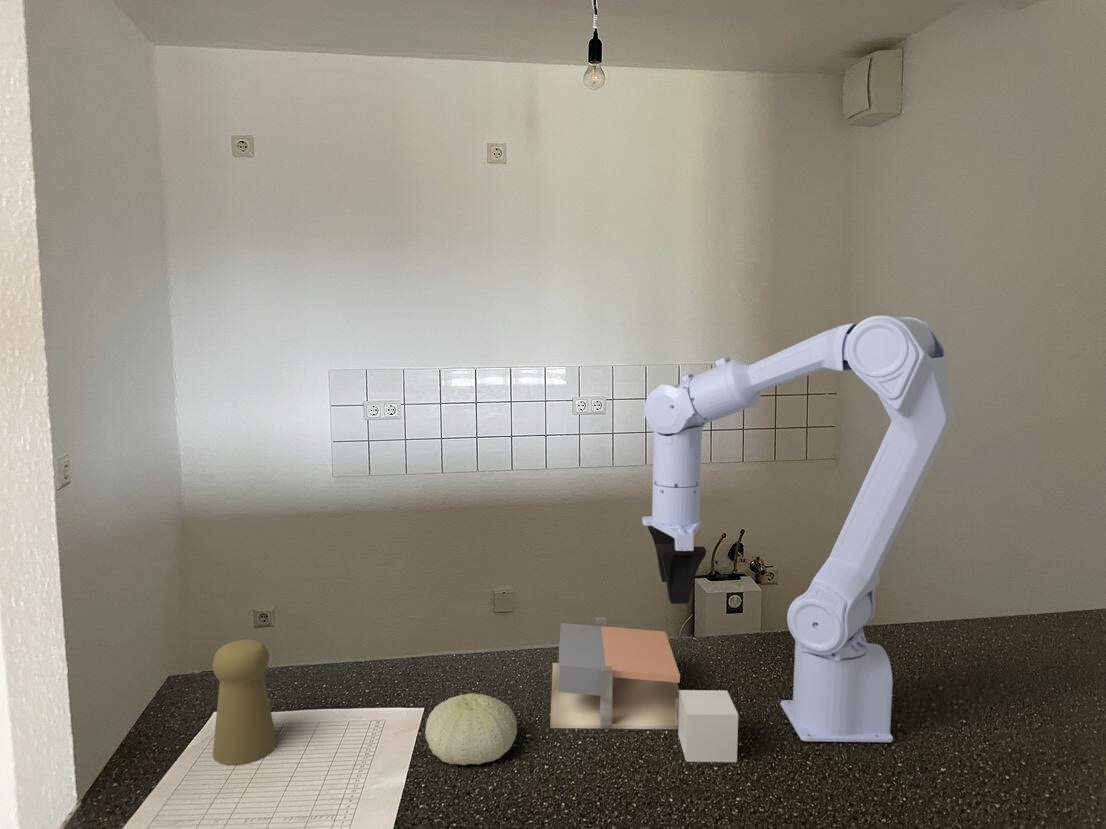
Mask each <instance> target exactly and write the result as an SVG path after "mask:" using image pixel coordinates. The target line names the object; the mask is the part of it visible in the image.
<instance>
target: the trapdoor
mask: <svg viewBox="0 0 1106 829" xmlns="http://www.w3.org/2000/svg"><path fill="white" fill-rule="evenodd" d="M558 644H559V645H558V663H559V674H558V692H564V693H576V694H587V695H599V696H601V666H612V670H613V674H612V677H617V678H628V679H640V680H652V681H664V682H676V683H677V684H678V683H679V684H680V681H681V680H680V679H681V674H680V671H679V668H678V665H677V661H676V660H675V656H674V653H673V651H672V650H673V649H672V648H671V644H670V641H669V638H668V634H667V631H661V630H650V629H649V630H648V629H640V628H639V629H636V628H627V627H625V628H624V627H617V626H616V627H614V626H606V627H604V626H596V625H592V624H578V623H566V622H561V623H560V631H559V643H558Z"/></svg>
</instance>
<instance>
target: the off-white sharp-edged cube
mask: <svg viewBox="0 0 1106 829" xmlns="http://www.w3.org/2000/svg"><path fill="white" fill-rule="evenodd" d="M731 698H732V697H731V695H730V694H729V691H728V690H722V689H721V690H719V689H718V690H714V689H713V690H711V689H710V690H708V689H707V690H703V689H702V690H701V689H700V690H697V689H692V690H691V689H683V690H682V689H679V725H678V729H677V730H678V733H677V735H678V739H679V742H680V746H681V750H682V752H683V756H684V759H685V762H688V763H689V762H691V763H696V762H697V763H737V762H738V736H739V735H738V734H739V732H738V731H739V713H738V711H737V708H736V706H735V704H734V703H733V700H732V699H731Z"/></svg>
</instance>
